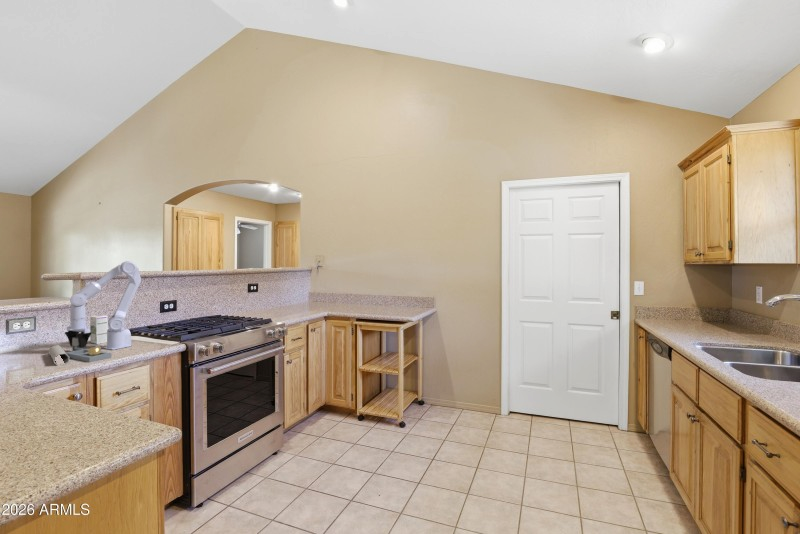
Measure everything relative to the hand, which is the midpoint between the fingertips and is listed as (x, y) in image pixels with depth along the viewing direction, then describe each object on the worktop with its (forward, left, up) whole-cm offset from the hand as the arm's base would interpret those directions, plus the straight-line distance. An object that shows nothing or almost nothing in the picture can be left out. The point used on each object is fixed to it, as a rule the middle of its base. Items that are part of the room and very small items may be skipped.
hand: (78, 346), depth 189 cm
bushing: (0, 0, -2) cm, 2 cm away
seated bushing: (+4, +20, -2) cm, 21 cm away
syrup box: (-16, -12, -3) cm, 20 cm away
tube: (+12, +7, -3) cm, 14 cm away
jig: (+4, +15, -2) cm, 16 cm away
